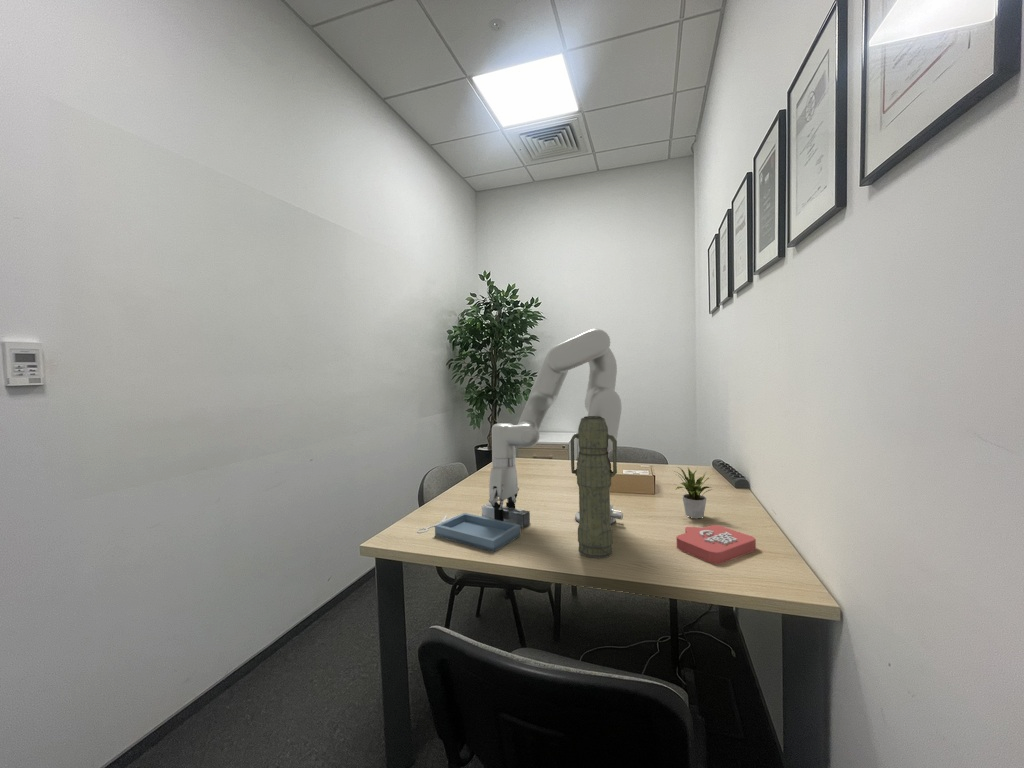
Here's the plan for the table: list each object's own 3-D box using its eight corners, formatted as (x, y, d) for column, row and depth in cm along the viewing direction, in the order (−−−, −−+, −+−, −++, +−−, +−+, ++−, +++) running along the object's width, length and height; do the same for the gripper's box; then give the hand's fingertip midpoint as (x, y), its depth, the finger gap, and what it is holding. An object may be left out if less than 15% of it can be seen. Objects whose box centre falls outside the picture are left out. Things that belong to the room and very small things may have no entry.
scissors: (412, 533, 116) (438, 511, 135) (412, 536, 116) (438, 513, 135) (446, 535, 114) (468, 512, 133) (446, 538, 114) (468, 514, 133)
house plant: (657, 512, 131) (656, 463, 131) (687, 506, 137) (686, 459, 137) (693, 526, 118) (692, 472, 118) (724, 518, 124) (723, 467, 124)
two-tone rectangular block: (529, 524, 122) (529, 511, 122) (523, 527, 119) (523, 514, 119) (488, 515, 131) (488, 503, 131) (482, 518, 128) (481, 506, 128)
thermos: (620, 560, 97) (617, 418, 96) (571, 556, 99) (568, 418, 99) (618, 545, 105) (615, 415, 105) (573, 542, 108) (571, 415, 108)
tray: (520, 535, 113) (520, 525, 113) (493, 552, 102) (493, 540, 102) (464, 522, 125) (464, 512, 125) (435, 535, 114) (434, 525, 114)
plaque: (706, 518, 115) (759, 536, 101) (706, 532, 115) (759, 551, 101) (664, 531, 106) (715, 551, 93) (664, 545, 106) (716, 567, 93)
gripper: (509, 456, 135) (510, 508, 135) (477, 466, 120) (479, 524, 120) (528, 458, 130) (529, 512, 131) (497, 468, 116) (498, 529, 116)
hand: (505, 517), depth 126 cm, fingers open, 5 cm apart
